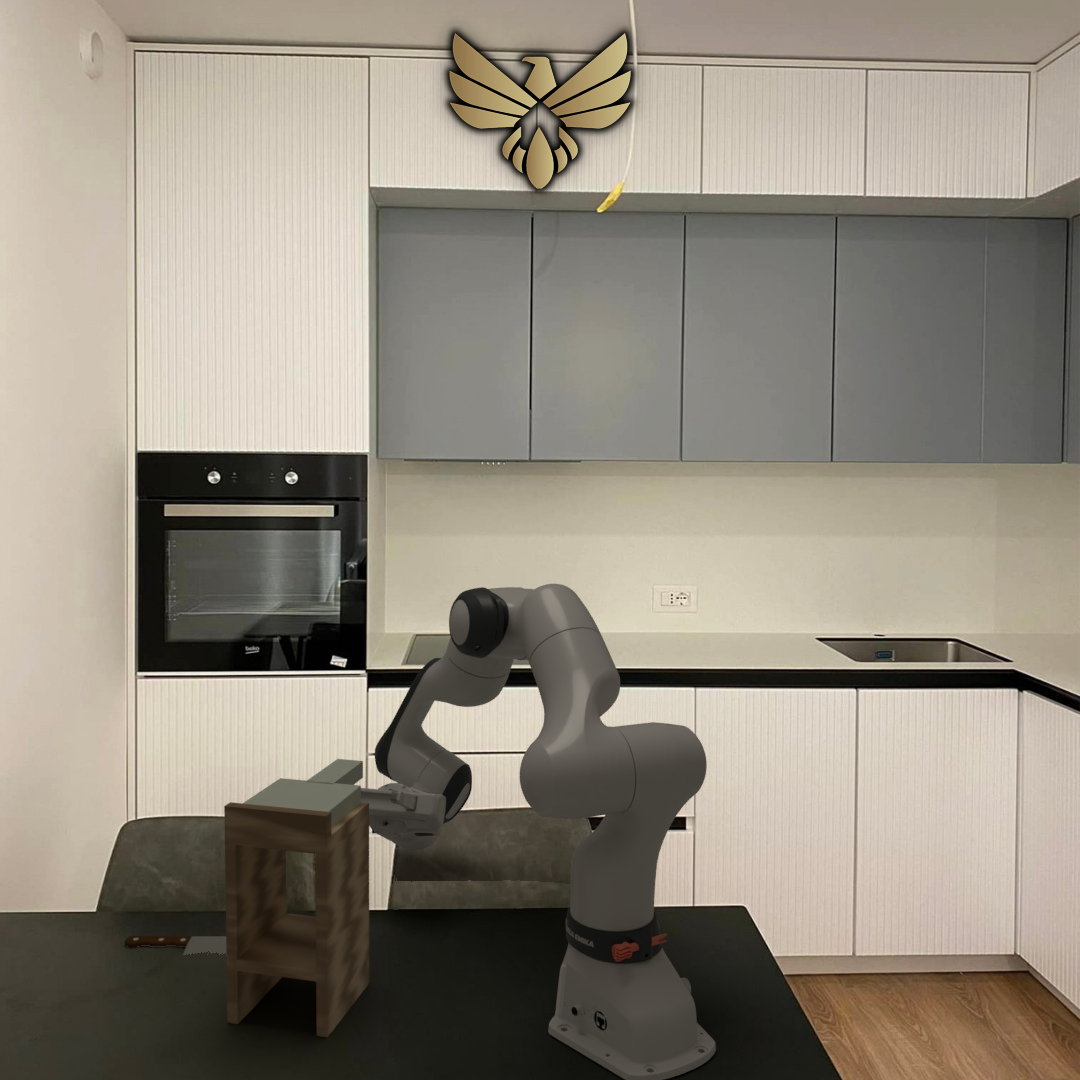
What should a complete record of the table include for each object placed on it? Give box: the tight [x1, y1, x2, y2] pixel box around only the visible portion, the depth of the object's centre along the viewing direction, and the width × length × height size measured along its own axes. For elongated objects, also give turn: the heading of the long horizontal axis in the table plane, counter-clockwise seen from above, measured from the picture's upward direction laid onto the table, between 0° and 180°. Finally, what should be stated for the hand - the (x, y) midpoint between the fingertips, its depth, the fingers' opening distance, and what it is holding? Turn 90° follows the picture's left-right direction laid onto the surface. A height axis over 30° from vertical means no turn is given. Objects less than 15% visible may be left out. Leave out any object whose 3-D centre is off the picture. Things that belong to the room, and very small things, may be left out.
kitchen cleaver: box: [124, 935, 226, 956], centre depth 158 cm, size 24×1×10 cm
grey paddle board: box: [242, 758, 364, 828], centre depth 147 cm, size 22×12×2 cm, turn 167°
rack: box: [223, 802, 370, 1038], centre depth 143 cm, size 14×14×29 cm
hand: (366, 793), depth 164 cm, fingers open, 8 cm apart
